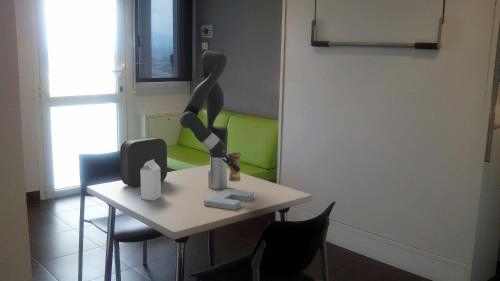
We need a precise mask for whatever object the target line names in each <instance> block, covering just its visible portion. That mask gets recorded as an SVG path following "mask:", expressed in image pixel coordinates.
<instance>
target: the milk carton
mask: <svg viewBox="0 0 500 281" xmlns="http://www.w3.org/2000/svg"><path fill="white" fill-rule="evenodd" d="M140 174H141V187H140V199H141V200H147V201H156V200H159V199H160V198H161V196H162V188H161V186H162V182H161V175H160V167H159V166H158V165H157V164H156V163H155V162H154V159H153V160H151V161H148V162H146V163H145V164H144V167H143V168H142V169H141V170H140Z"/></svg>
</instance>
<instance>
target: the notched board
mask: <svg viewBox="0 0 500 281" xmlns="http://www.w3.org/2000/svg"><path fill="white" fill-rule="evenodd" d="M254 198H255V193H254V192H252V191H251V192H250V191H249V192H248V191H244V190H243V191H242V190H235V189H227V188H225V189H222V190H220V191H219V192H217V193H214V194H213V195H211V196H209V197H207V198H205V199H204V200H203V205H204V206H207V207H212V208H220V209H225V210H226V209H227V210H231V211H236V210H237V209H239V208H240V207H241V206H242V202H250V201H251V200H253V199H254Z"/></svg>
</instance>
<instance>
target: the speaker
mask: <svg viewBox="0 0 500 281" xmlns="http://www.w3.org/2000/svg"><path fill="white" fill-rule="evenodd" d="M167 149H168V146H167V143H166V141H165V140H164V138H158V137H155V136H150V137H149V136H148V137H140V138H132V139H127V140H125V141H124V142H123V143H122V144H121V146H120V149H119V150H120V152H119V154H120V156H119V158H120V179H121V182H122V183H123V184H125V185H127V186H131V187H132V188H141V174H140V170H141V169H142V168H143V167H144V164H145V163H146V162H148V161H151V160H153V159H154V162H155V163H156V164H157V165H158V166H159V167H160V175H161V183H162V182H164V181H165V179H166V178H167V176H168V150H167Z"/></svg>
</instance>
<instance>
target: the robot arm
mask: <svg viewBox="0 0 500 281" xmlns="http://www.w3.org/2000/svg"><path fill="white" fill-rule="evenodd" d="M227 62H228V59H227V56H226V55H225V54H224V53H222V52H217V51H213V50H206V51H204V53H202V56H201V69H202V75H203V81H201V82H200V84H198V85H197V86H196V87H195V89H194V90H193V91H192V94H191V95H190V98H189V100H188V102H187V105H186V106H185V109H184V110H183V112H182V113H181V116H180V117H179V123H180V125H181V127H182V128H184V129H189V130H190V131H191V132H192V133H193V135H194V137H195V138H196V140H198V141H199V143H201V144H202V145H203V147H204V148H205V149H206V150H207V151H208V152H209V170H207V171H208V173H207V174H208V179H207V180H208V188H210V189H212V190H225V189H227V188H228V166H229V168H230V167H232V168H233V169H234V170H235V171H236V172H238V171H239V170H240V171H241V168H240V167H241V165H240V164H239V167H238V166H237V165H236V164H235V162H233V161H232V158H231V157H230V156H229V153H230V152H229V151H228V141H229V140H228V139H229V138H228V137H229V131H228V127H227V126H225V125H223V126H222V125H221V126H220V125H219V126H218V125H216V126H215V125H214V123H215V122H216V119H217V118H218V116H219V114H220V113H221V112H222V111H223V109H224V106H225V99H224V98H225V96H224V90H223V89H222V87H221V86H220V83H219V82H218V80H219V79H220V77H221V75H222V74H223V72H224V71H225V69H226V67H227ZM204 105H205V108H206V125H205V124H204V122H203V120H201V118H200V117H199V116H198V115H199V113H200V112H201V110H203V109H202V108H204ZM230 162H231V164H230Z"/></svg>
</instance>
